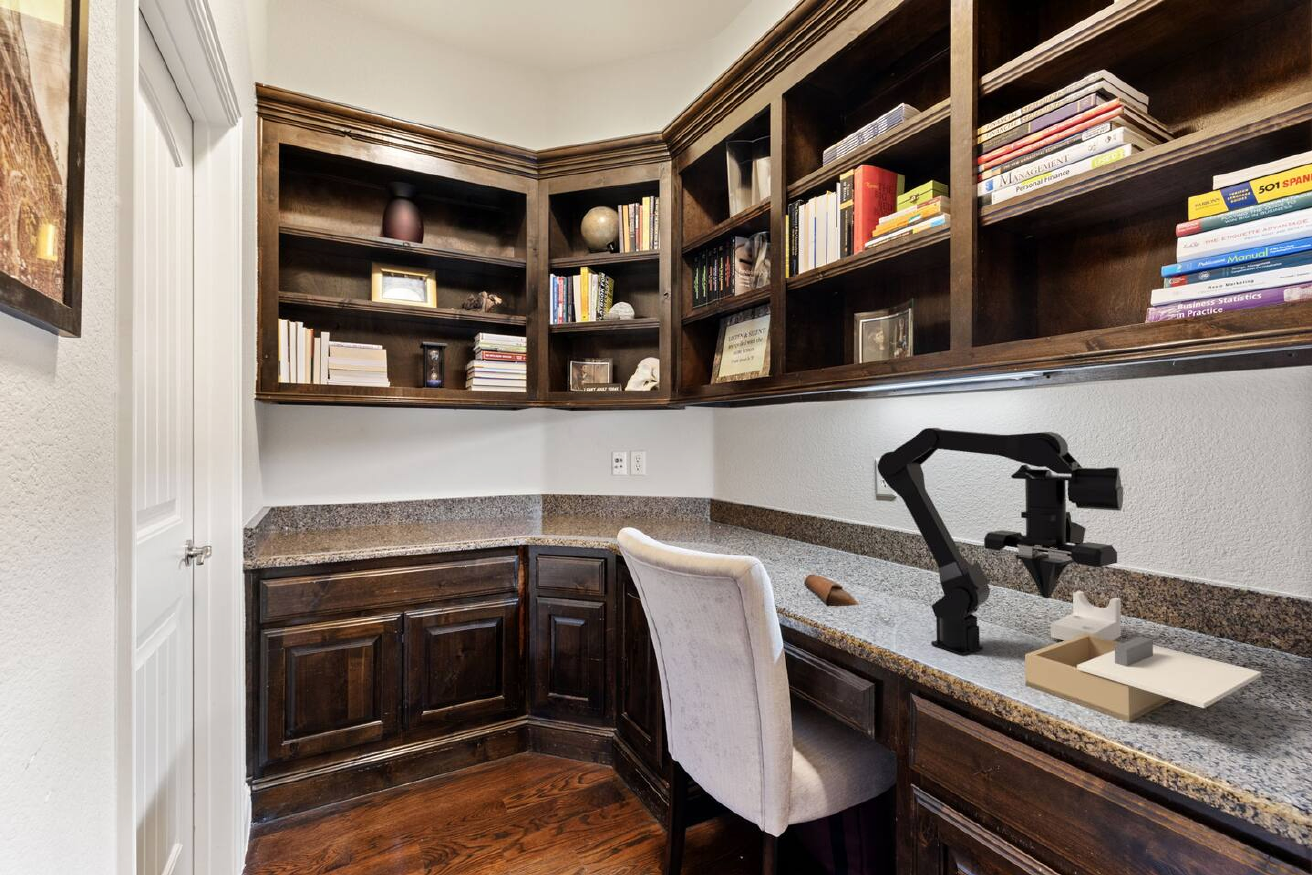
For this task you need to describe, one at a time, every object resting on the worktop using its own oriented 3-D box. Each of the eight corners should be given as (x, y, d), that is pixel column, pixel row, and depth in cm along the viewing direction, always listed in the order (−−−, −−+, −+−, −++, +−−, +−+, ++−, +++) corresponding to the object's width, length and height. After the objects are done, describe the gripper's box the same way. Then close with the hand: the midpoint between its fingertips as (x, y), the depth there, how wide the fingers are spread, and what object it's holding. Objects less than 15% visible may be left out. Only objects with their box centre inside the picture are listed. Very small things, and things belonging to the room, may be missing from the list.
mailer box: (1025, 685, 95) (1025, 654, 95) (1085, 662, 104) (1085, 633, 104) (1128, 722, 83) (1128, 686, 83) (1187, 692, 92) (1186, 659, 92)
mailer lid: (1076, 669, 88) (1076, 648, 88) (1138, 644, 97) (1138, 625, 97) (1203, 708, 76) (1203, 683, 76) (1261, 676, 85) (1260, 654, 85)
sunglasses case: (862, 605, 139) (847, 581, 139) (837, 621, 139) (822, 597, 139) (835, 585, 157) (822, 564, 157) (813, 599, 157) (799, 578, 157)
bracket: (1078, 627, 122) (1078, 590, 122) (1120, 637, 116) (1120, 598, 116) (1050, 641, 115) (1050, 602, 115) (1094, 652, 109) (1093, 611, 109)
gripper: (1133, 507, 97) (1134, 603, 97) (1017, 497, 114) (1018, 579, 114) (1098, 513, 92) (1099, 615, 92) (981, 502, 108) (982, 588, 108)
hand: (1046, 597), depth 102 cm, fingers closed
